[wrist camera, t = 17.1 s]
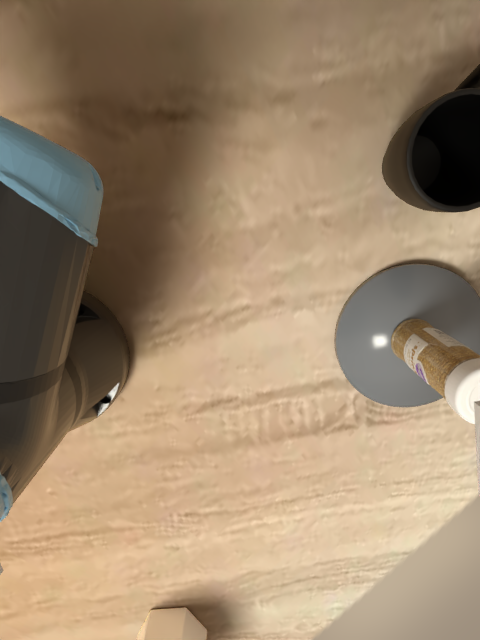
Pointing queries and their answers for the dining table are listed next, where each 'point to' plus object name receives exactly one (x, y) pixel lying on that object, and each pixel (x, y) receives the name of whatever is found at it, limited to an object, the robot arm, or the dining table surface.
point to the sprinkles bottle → (440, 363)
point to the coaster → (391, 310)
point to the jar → (172, 625)
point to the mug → (439, 152)
